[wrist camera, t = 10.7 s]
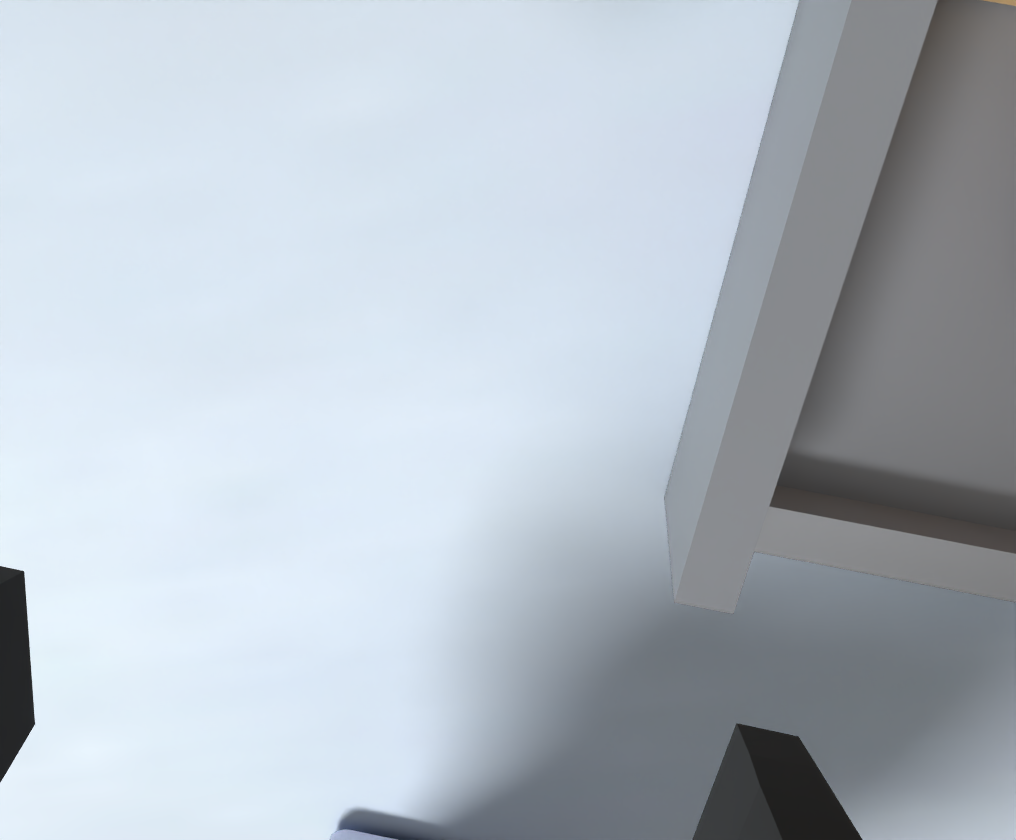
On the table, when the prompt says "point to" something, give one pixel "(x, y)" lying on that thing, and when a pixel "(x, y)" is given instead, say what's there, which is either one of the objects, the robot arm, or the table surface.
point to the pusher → (1004, 2)
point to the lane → (866, 316)
